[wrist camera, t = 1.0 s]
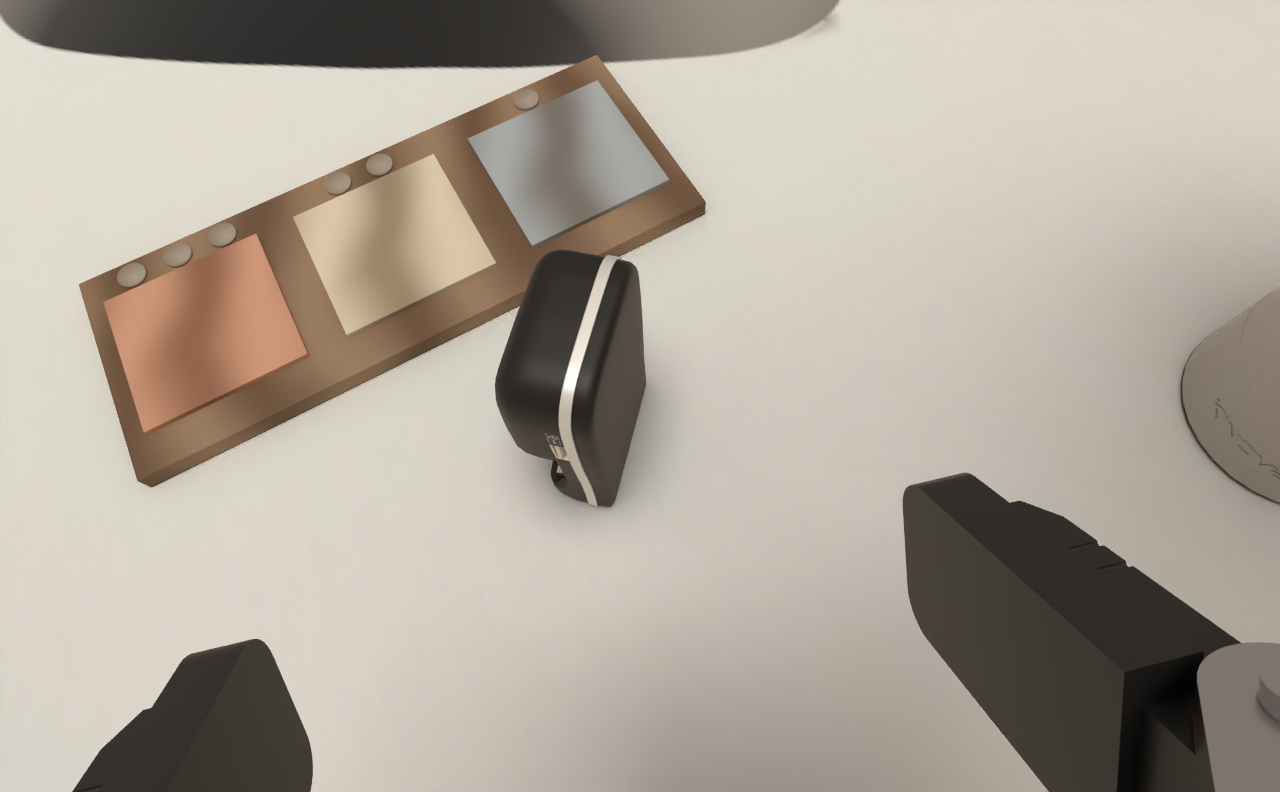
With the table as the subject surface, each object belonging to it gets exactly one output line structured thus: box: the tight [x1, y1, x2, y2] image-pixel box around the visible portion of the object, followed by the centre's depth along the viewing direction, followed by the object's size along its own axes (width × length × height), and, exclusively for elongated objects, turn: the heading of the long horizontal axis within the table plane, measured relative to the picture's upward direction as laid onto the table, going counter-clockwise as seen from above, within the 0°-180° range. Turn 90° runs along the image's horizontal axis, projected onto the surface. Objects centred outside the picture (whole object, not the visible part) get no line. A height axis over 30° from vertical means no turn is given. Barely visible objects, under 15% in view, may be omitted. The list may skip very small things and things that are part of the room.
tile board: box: [79, 55, 706, 487], centre depth 39 cm, size 30×12×1 cm, turn 119°
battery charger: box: [495, 250, 646, 506], centre depth 30 cm, size 7×4×11 cm, turn 166°
